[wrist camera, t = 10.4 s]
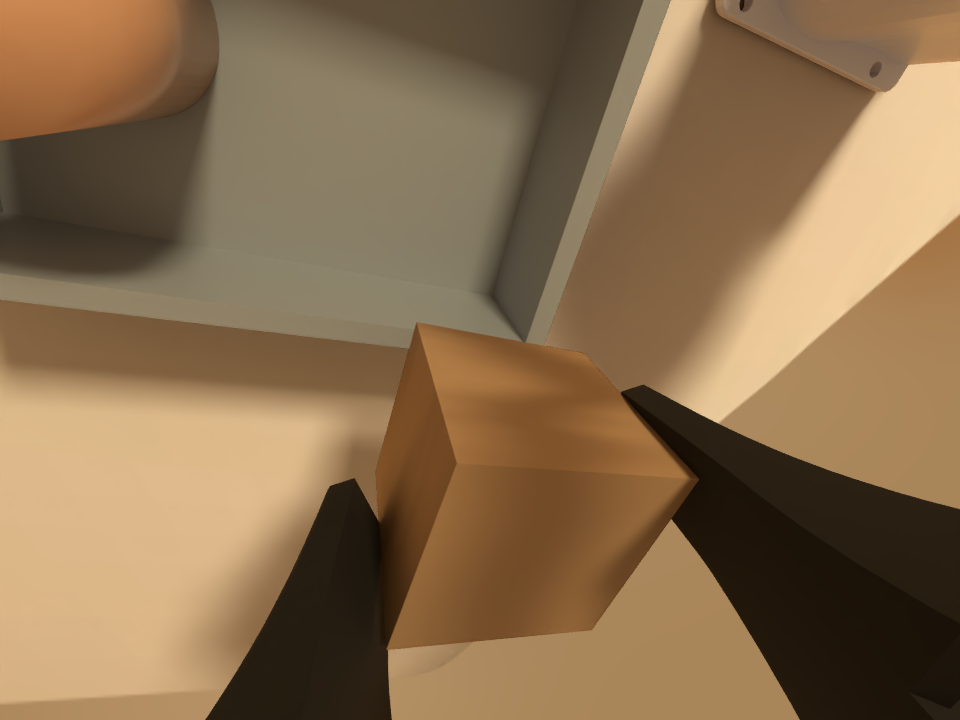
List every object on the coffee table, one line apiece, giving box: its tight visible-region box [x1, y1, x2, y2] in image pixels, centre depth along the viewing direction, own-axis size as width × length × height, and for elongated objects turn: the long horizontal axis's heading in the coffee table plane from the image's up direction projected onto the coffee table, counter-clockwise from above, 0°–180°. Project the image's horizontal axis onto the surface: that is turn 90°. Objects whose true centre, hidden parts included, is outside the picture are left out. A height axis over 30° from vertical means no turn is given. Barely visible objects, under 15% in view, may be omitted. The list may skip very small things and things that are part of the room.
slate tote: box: [0, 0, 671, 349], centre depth 11 cm, size 17×13×5 cm
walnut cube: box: [376, 322, 699, 650], centre depth 11 cm, size 5×5×5 cm
